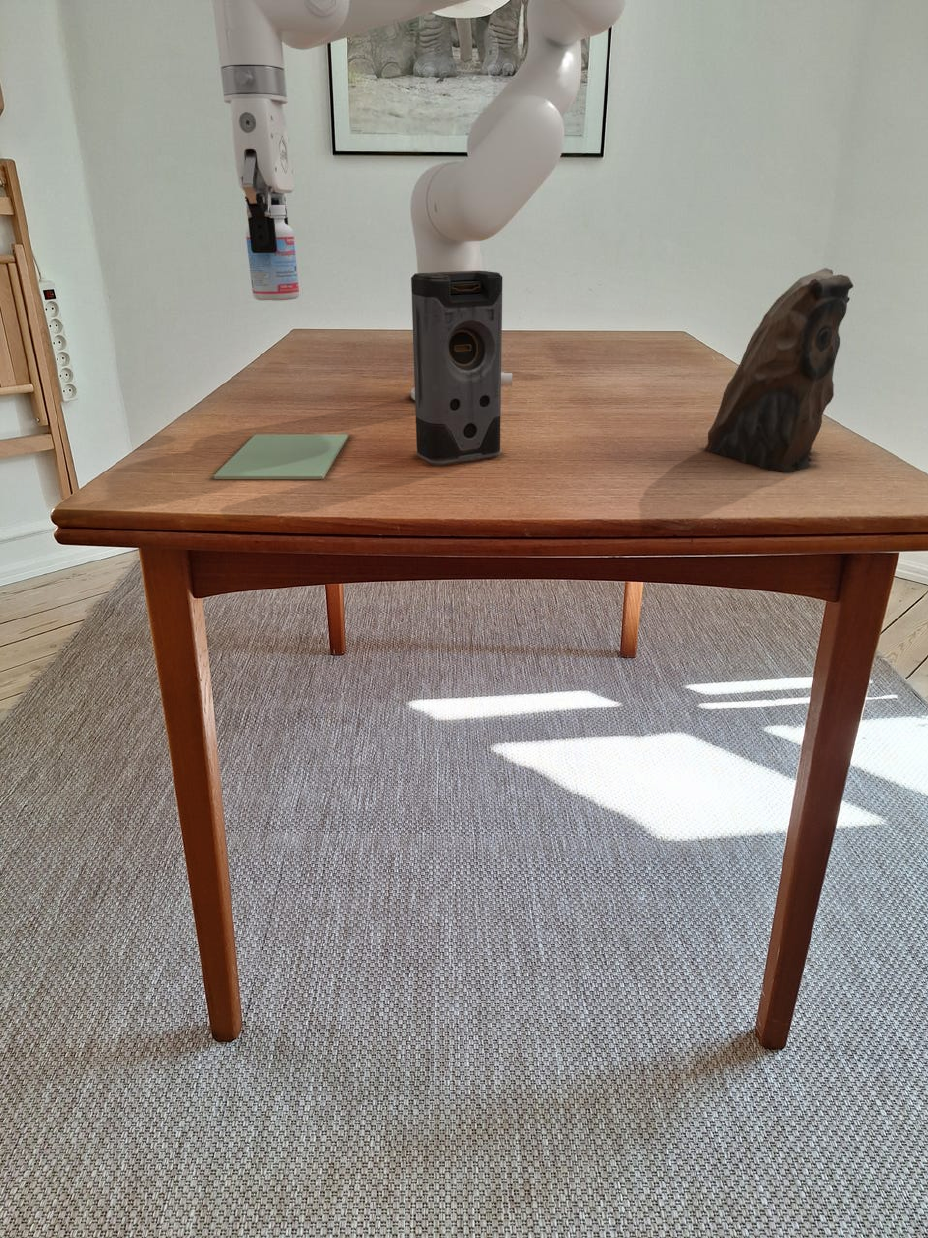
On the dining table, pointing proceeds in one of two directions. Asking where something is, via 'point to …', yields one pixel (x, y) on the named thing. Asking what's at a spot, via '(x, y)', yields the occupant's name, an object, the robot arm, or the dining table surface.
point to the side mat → (284, 457)
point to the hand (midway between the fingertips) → (271, 249)
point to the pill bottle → (275, 263)
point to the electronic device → (457, 365)
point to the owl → (784, 378)
